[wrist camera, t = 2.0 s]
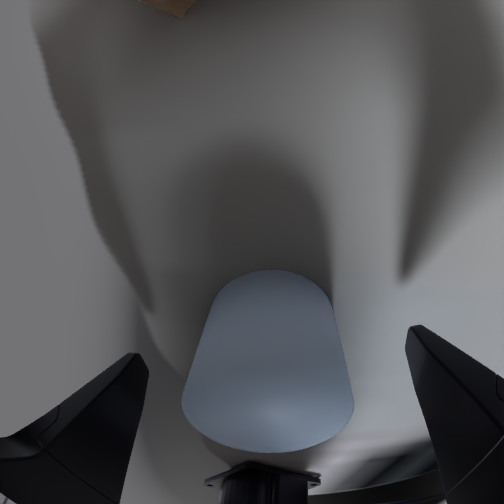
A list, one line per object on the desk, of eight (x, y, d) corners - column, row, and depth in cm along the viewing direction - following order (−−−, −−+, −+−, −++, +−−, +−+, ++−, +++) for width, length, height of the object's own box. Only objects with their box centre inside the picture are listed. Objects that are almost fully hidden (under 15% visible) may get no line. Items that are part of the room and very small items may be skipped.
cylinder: (281, 380, 11) (280, 463, 8) (188, 330, 11) (156, 415, 7) (358, 312, 10) (388, 401, 6) (256, 243, 9) (242, 326, 5)
